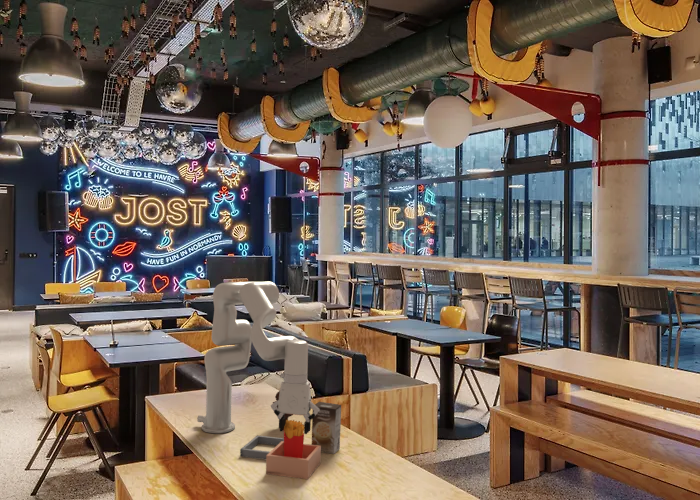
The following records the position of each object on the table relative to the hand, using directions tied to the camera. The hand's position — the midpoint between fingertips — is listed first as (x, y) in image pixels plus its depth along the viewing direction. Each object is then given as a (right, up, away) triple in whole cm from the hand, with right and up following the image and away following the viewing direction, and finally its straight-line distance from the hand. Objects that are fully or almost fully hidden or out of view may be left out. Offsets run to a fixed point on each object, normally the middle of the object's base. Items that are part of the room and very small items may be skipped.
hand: (294, 431), depth 205 cm
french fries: (0, -10, 0) cm, 10 cm away
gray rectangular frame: (-12, -11, +16) cm, 23 cm away
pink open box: (0, -12, 0) cm, 12 cm away
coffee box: (+9, -12, +19) cm, 24 cm away
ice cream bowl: (-7, -11, +42) cm, 44 cm away
